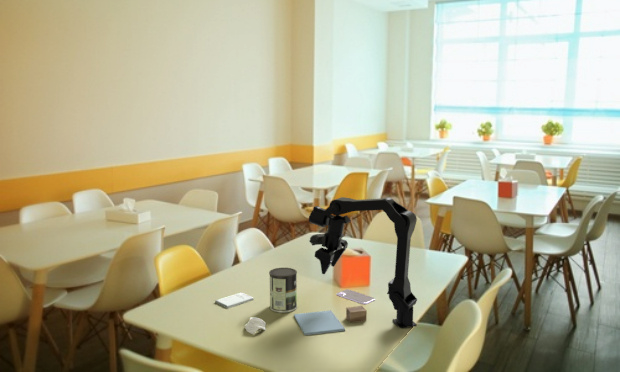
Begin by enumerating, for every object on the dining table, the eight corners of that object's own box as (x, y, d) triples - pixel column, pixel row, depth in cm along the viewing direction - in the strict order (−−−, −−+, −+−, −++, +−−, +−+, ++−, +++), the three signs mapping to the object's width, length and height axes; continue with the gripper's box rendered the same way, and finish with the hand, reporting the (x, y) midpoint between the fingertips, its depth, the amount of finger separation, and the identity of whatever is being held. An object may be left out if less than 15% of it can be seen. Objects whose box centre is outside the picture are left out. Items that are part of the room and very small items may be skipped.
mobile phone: (364, 303, 198) (335, 293, 209) (364, 305, 199) (335, 295, 209) (376, 297, 204) (347, 288, 214) (376, 300, 204) (347, 290, 214)
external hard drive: (215, 303, 201) (241, 295, 209) (227, 310, 195) (253, 301, 204) (215, 299, 200) (240, 291, 209) (227, 305, 195) (253, 297, 203)
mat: (344, 330, 176) (344, 328, 176) (304, 335, 173) (304, 333, 172) (330, 312, 191) (330, 310, 191) (293, 316, 188) (293, 314, 188)
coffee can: (294, 301, 202) (294, 266, 199) (298, 312, 192) (298, 275, 189) (268, 303, 200) (268, 267, 198) (270, 313, 190) (270, 276, 188)
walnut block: (366, 321, 184) (366, 310, 184) (350, 323, 183) (350, 312, 182) (361, 316, 189) (362, 305, 188) (346, 317, 187) (346, 307, 186)
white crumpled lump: (241, 331, 178) (239, 318, 177) (256, 324, 182) (254, 311, 182) (255, 337, 172) (253, 323, 171) (271, 329, 177) (269, 316, 176)
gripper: (324, 219, 202) (318, 256, 206) (304, 231, 185) (298, 271, 189) (351, 227, 198) (344, 264, 202) (333, 240, 181) (326, 280, 185)
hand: (328, 269), depth 195 cm, fingers open, 9 cm apart
